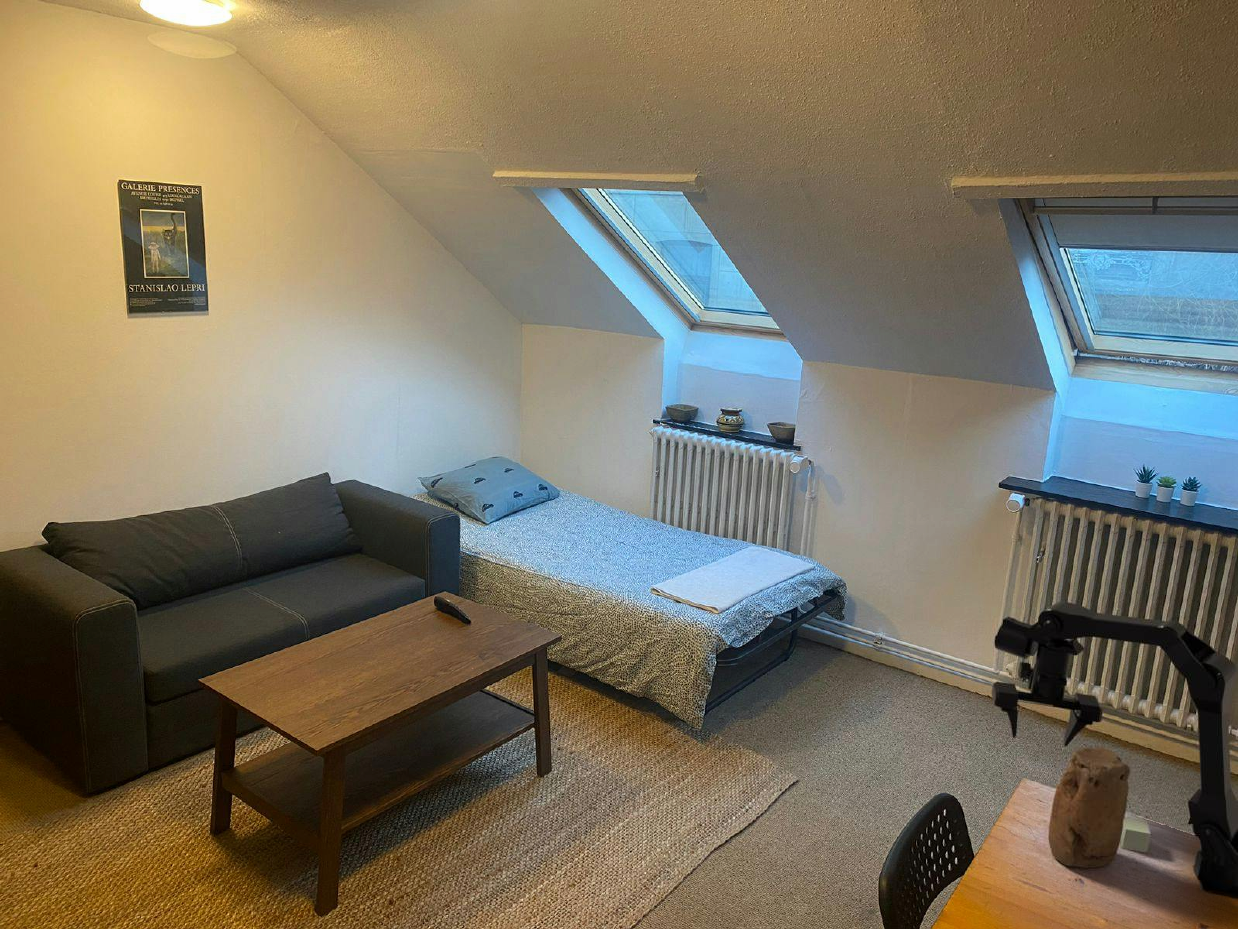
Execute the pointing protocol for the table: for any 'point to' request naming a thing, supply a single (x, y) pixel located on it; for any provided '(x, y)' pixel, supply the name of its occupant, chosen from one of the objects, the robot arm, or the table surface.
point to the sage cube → (1135, 835)
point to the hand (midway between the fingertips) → (1039, 741)
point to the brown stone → (1089, 809)
